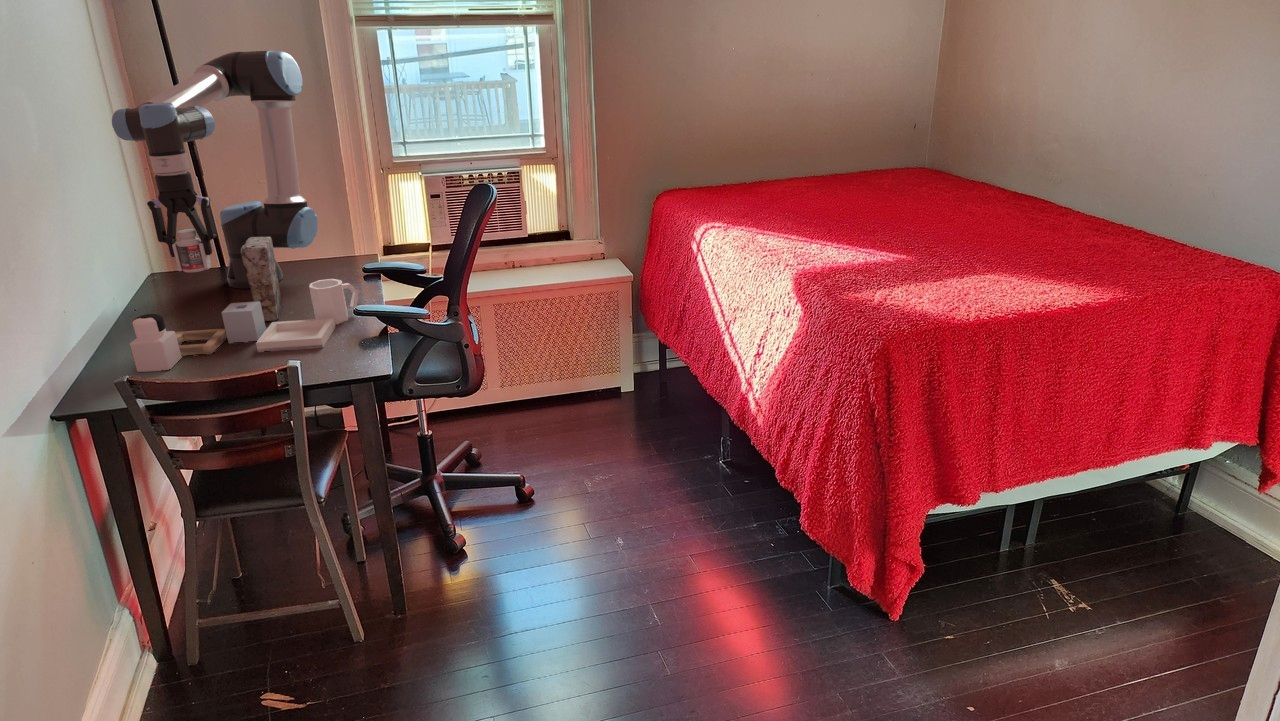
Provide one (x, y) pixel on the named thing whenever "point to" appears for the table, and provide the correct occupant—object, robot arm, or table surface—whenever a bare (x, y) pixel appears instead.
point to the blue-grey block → (244, 321)
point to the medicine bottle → (154, 344)
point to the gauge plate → (213, 335)
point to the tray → (296, 335)
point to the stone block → (262, 275)
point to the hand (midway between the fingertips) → (195, 268)
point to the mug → (331, 299)
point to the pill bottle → (189, 251)
